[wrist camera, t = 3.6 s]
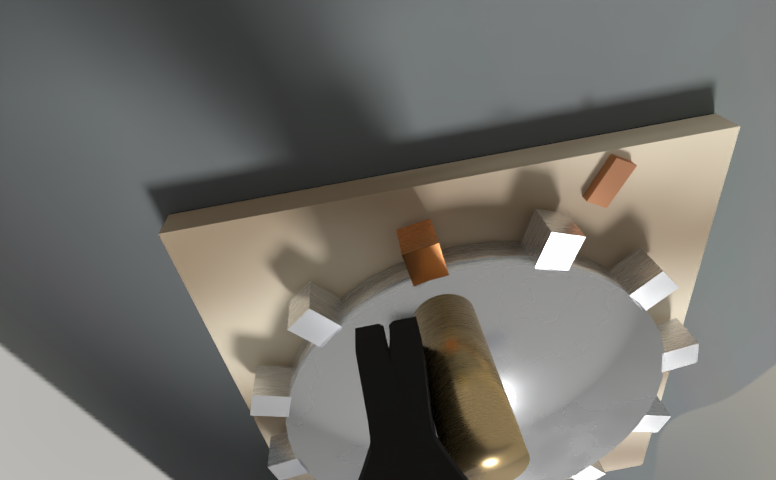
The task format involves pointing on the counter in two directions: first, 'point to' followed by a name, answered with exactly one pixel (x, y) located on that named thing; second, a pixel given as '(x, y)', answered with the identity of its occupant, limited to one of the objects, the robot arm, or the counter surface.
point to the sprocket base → (451, 233)
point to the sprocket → (486, 356)
